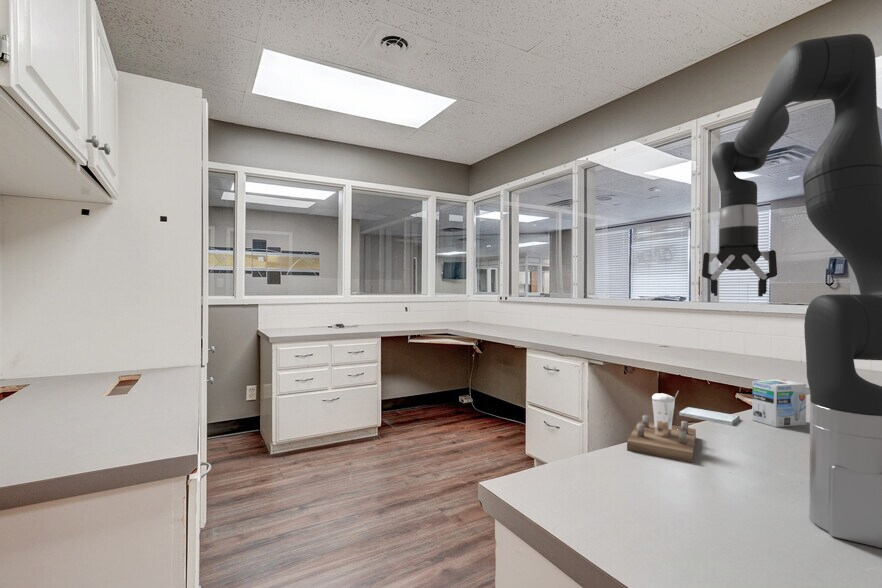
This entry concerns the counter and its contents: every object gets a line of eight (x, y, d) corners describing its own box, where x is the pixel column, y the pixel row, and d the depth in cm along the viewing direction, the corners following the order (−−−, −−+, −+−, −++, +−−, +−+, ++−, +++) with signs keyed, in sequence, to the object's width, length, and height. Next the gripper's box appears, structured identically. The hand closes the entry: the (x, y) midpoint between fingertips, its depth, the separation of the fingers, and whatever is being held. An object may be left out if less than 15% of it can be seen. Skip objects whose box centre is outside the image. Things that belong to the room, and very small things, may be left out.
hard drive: (739, 415, 114) (688, 406, 123) (732, 421, 108) (679, 411, 117) (739, 421, 114) (688, 411, 123) (732, 427, 108) (678, 417, 117)
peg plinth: (692, 462, 83) (692, 439, 83) (627, 449, 90) (627, 428, 90) (695, 437, 98) (695, 418, 98) (639, 428, 105) (639, 410, 105)
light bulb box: (776, 428, 107) (776, 385, 107) (750, 420, 113) (751, 380, 113) (807, 425, 109) (807, 383, 110) (780, 417, 116) (780, 378, 116)
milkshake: (681, 439, 91) (682, 392, 91) (654, 437, 92) (655, 391, 92) (674, 432, 95) (675, 388, 95) (649, 430, 96) (649, 387, 97)
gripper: (702, 227, 99) (701, 295, 99) (779, 221, 91) (778, 296, 91) (702, 231, 105) (702, 296, 105) (774, 226, 98) (774, 296, 98)
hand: (737, 296), depth 98 cm, fingers open, 8 cm apart
